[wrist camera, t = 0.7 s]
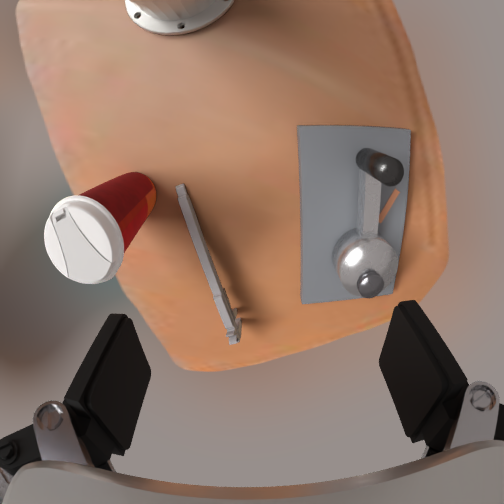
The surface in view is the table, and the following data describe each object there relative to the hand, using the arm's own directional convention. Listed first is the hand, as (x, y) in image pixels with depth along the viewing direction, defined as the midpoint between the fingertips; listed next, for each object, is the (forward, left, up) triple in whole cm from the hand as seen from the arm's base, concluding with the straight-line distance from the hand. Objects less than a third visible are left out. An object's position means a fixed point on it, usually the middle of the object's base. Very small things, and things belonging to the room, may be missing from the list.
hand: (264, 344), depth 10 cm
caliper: (+10, -6, -25) cm, 27 cm away
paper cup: (0, -14, -25) cm, 28 cm away
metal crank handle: (+5, +12, -23) cm, 26 cm away
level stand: (+5, +11, -25) cm, 28 cm away
